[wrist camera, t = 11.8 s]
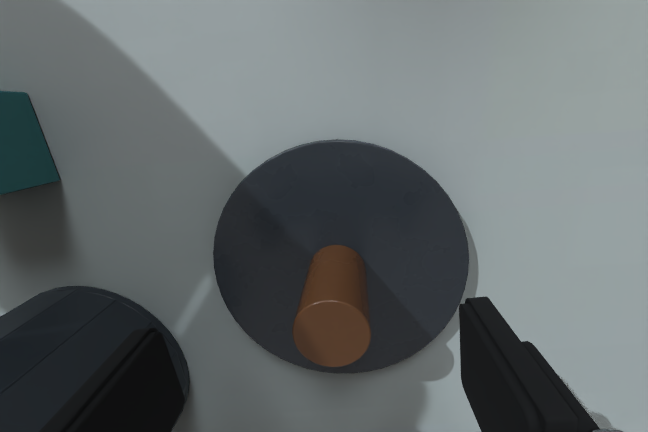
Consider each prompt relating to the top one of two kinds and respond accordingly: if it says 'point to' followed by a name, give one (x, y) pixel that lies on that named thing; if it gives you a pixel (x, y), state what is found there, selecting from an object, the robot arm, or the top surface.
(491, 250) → the top surface
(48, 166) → the block
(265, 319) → the lid
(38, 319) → the container
